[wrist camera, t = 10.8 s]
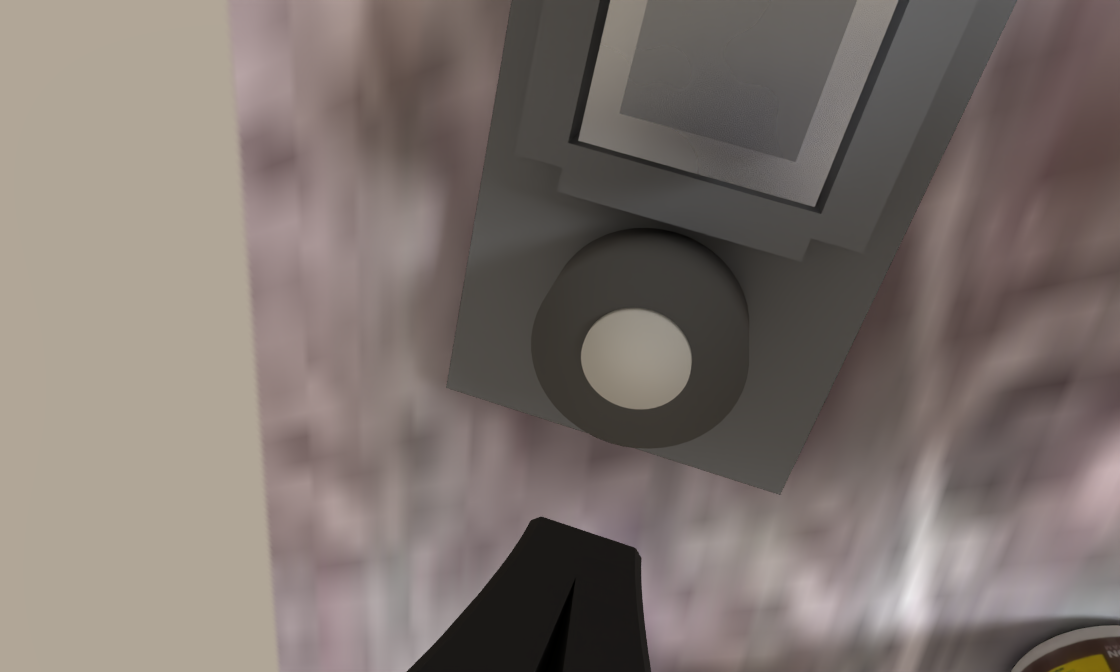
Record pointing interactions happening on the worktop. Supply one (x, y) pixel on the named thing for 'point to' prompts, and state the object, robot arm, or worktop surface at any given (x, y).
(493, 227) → the chassis
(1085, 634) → the supplement bottle
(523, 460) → the worktop surface
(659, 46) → the grey rectangular block
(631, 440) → the wheel
